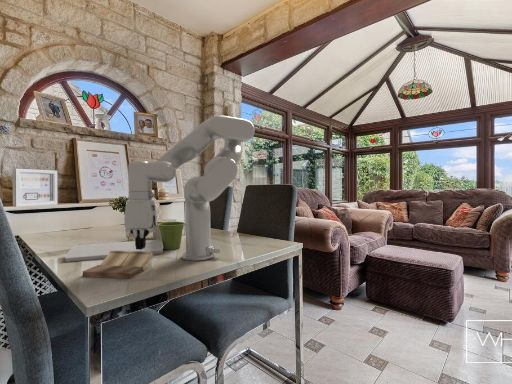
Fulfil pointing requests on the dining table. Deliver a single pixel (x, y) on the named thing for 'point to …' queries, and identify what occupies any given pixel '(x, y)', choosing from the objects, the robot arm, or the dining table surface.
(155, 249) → the decorative molding
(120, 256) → the plank
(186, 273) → the dining table surface
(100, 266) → the floor row
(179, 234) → the plant pot
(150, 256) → the plank
